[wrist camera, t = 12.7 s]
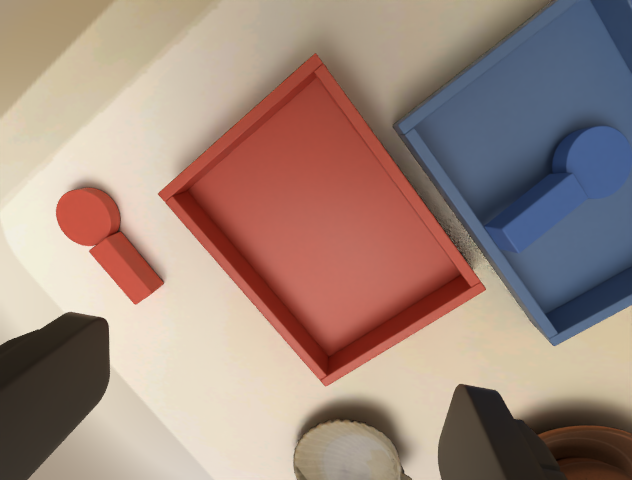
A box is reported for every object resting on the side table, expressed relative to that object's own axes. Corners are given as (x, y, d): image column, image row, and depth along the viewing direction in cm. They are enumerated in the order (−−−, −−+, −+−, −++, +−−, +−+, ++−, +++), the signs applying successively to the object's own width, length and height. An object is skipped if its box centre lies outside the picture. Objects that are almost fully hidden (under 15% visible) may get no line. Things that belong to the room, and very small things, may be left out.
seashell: (339, 380, 28) (275, 461, 28) (338, 396, 25) (266, 487, 25) (428, 452, 27) (361, 534, 27) (438, 478, 24) (363, 570, 24)
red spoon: (56, 207, 24) (36, 213, 23) (93, 176, 23) (75, 179, 22) (137, 302, 25) (124, 313, 24) (175, 275, 25) (163, 285, 23)
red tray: (178, 187, 23) (157, 193, 20) (320, 62, 20) (315, 52, 18) (328, 362, 25) (325, 387, 23) (472, 272, 23) (486, 289, 20)
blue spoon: (593, 114, 19) (622, 107, 18) (626, 170, 20) (657, 168, 18) (472, 210, 19) (490, 212, 17) (509, 263, 20) (529, 270, 18)
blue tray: (391, 125, 21) (397, 124, 18) (583, -24, 18) (620, -49, 15) (532, 324, 23) (554, 347, 21) (719, 219, 20) (769, 231, 18)
